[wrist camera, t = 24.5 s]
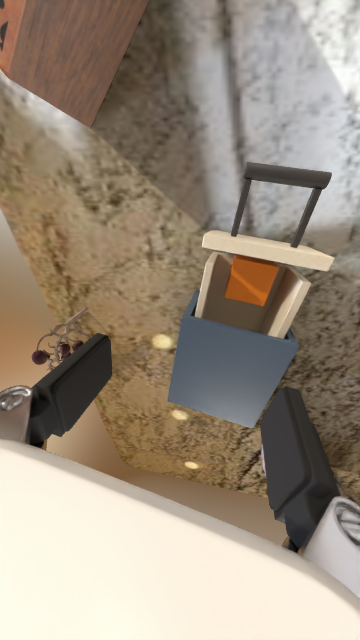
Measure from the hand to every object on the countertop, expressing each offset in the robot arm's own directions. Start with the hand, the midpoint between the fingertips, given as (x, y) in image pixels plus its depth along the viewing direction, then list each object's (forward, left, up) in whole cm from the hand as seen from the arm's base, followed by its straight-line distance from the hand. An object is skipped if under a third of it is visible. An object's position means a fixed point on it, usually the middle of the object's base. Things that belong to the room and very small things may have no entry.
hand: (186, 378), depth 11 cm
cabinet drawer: (-4, -2, -20) cm, 20 cm away
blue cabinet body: (-4, +10, -21) cm, 23 cm away
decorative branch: (+27, +22, -21) cm, 41 cm away
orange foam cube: (-4, -2, -19) cm, 19 cm away
